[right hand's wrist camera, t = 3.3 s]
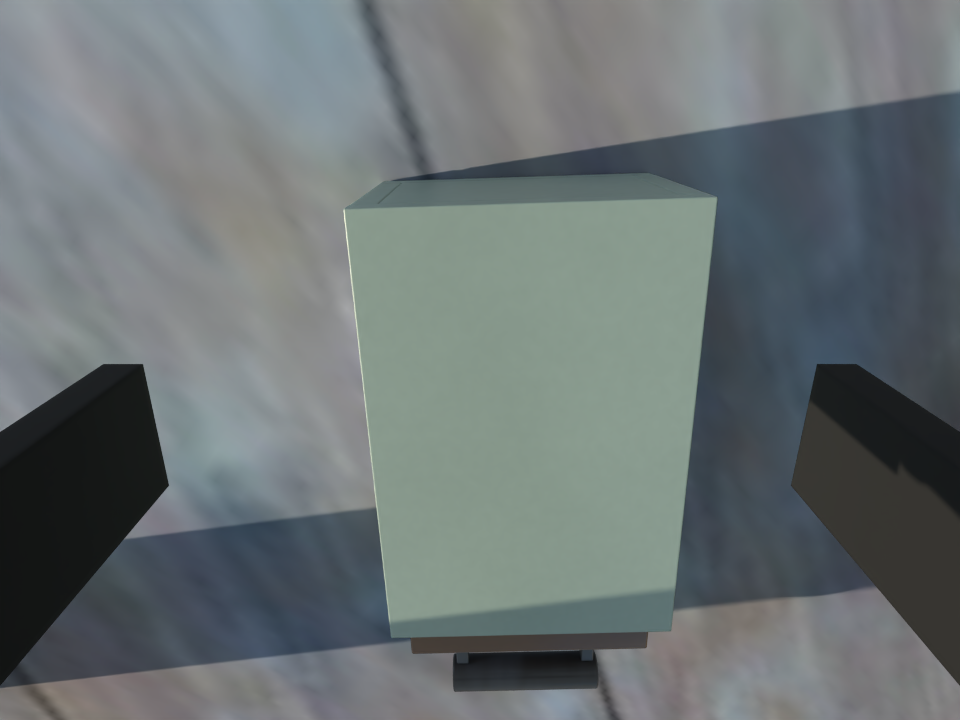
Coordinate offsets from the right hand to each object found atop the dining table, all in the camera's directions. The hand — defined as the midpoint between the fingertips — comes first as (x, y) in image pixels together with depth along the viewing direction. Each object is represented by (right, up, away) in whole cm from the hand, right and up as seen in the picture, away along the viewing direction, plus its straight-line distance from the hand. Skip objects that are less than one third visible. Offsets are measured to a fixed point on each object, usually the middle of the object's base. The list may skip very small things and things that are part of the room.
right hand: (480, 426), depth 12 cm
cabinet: (+2, +1, +17) cm, 17 cm away
